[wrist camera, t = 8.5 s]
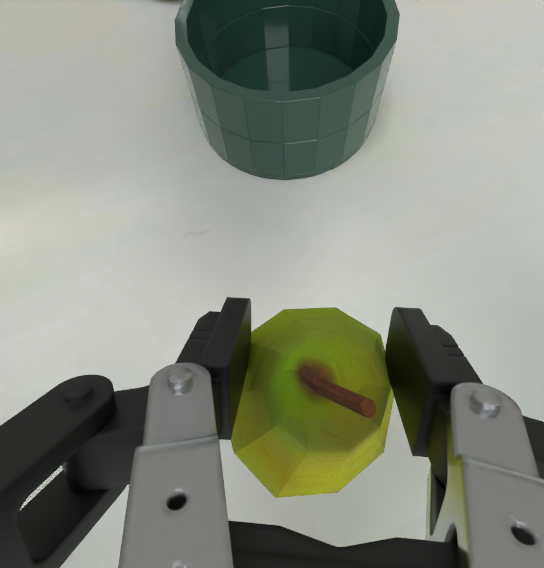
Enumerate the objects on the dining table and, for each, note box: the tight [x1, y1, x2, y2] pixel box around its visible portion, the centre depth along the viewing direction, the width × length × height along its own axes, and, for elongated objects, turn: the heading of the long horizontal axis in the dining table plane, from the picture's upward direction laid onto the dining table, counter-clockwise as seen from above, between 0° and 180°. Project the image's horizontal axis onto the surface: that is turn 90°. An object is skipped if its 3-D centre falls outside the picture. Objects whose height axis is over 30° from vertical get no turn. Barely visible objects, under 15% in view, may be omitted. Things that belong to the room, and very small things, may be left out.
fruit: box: [231, 308, 394, 498], centre depth 10 cm, size 6×6×12 cm
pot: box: [175, 0, 400, 179], centre depth 28 cm, size 15×15×8 cm
